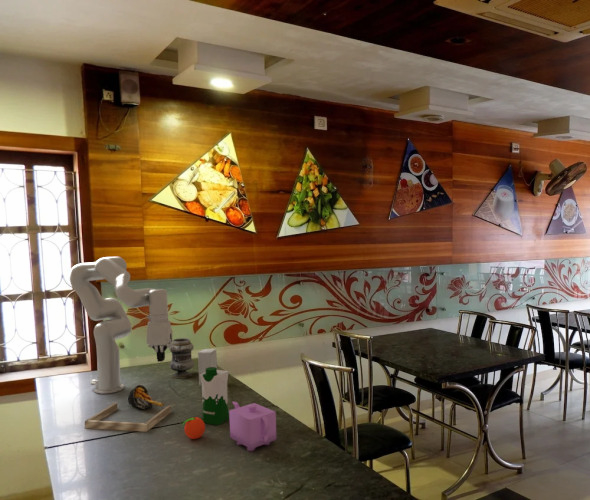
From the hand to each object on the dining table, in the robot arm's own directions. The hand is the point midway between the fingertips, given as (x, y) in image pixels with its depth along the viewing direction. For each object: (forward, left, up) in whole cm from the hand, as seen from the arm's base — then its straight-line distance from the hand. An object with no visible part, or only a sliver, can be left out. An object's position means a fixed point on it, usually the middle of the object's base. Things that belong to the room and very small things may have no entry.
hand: (161, 360), depth 204 cm
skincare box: (+13, +21, -16) cm, 29 cm away
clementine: (+31, -38, -16) cm, 51 cm away
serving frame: (0, -25, -16) cm, 29 cm away
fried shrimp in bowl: (0, -13, -16) cm, 21 cm away
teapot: (+51, -38, -16) cm, 65 cm away
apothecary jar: (-5, +32, -16) cm, 36 cm away
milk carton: (+33, -22, -16) cm, 42 cm away
